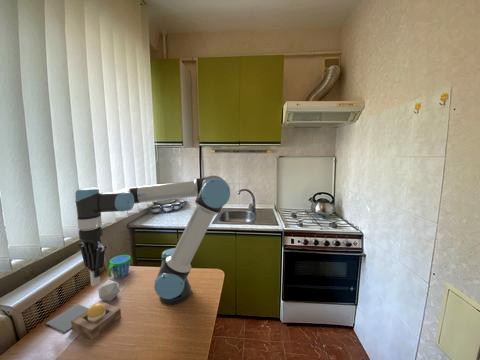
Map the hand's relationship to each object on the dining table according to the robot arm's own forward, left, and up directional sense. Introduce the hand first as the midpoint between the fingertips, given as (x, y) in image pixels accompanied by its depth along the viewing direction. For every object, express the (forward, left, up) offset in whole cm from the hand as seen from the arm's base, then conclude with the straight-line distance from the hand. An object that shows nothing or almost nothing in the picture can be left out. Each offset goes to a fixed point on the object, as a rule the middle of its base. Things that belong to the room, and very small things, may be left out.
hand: (95, 283), depth 84 cm
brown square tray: (0, 0, -17) cm, 17 cm away
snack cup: (+22, -29, -18) cm, 40 cm away
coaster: (+13, +2, -17) cm, 22 cm away
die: (+10, -13, -18) cm, 24 cm away
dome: (0, 0, -16) cm, 16 cm away
